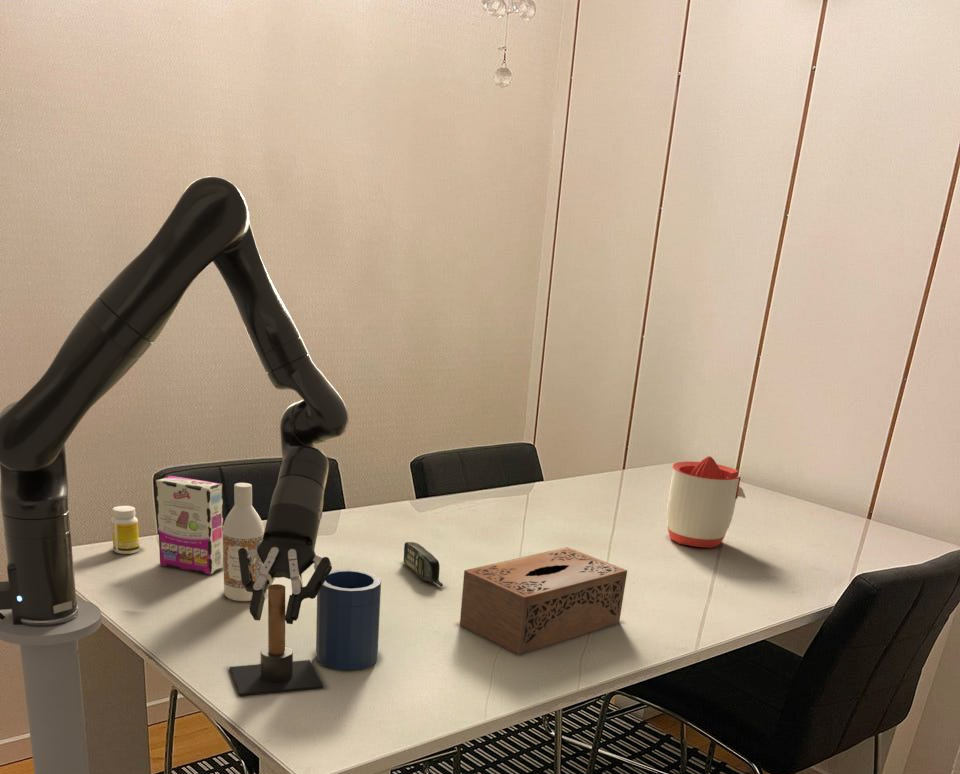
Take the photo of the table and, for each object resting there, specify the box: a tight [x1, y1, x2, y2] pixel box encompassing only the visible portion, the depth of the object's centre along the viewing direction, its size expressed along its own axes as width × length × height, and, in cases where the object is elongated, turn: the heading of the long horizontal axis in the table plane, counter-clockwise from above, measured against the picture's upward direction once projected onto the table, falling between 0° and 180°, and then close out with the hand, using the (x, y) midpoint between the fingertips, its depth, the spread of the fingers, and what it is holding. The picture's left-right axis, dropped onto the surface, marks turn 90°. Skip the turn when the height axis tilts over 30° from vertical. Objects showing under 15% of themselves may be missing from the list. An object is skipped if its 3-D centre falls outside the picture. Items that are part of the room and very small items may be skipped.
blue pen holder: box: [315, 568, 382, 672], centre depth 148 cm, size 9×9×13 cm
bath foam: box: [222, 482, 265, 602], centre depth 167 cm, size 7×7×20 cm
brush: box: [260, 583, 294, 683], centre depth 140 cm, size 5×5×14 cm
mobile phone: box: [403, 541, 444, 588], centre depth 188 cm, size 5×3×15 cm
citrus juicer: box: [666, 456, 747, 549], centre depth 222 cm, size 16×17×20 cm
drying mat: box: [229, 659, 324, 697], centre depth 142 cm, size 12×9×1 cm
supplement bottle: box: [111, 505, 140, 555], centre depth 186 cm, size 5×5×8 cm
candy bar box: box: [155, 475, 224, 576], centre depth 179 cm, size 11×5×16 cm, turn 73°
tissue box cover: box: [459, 546, 628, 655], centre depth 169 cm, size 26×14×10 cm, turn 133°
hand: (272, 619), depth 137 cm, fingers open, 4 cm apart
